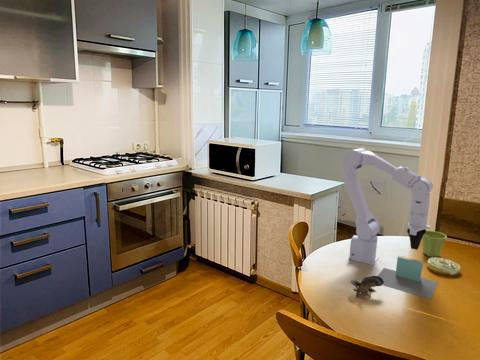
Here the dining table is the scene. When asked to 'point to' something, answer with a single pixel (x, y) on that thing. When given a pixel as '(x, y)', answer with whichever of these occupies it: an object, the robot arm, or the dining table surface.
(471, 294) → the dining table surface
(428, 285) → the mat
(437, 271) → the decorated donut
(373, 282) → the eagle figurine
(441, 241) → the plant pot
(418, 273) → the tile
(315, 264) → the dining table surface
